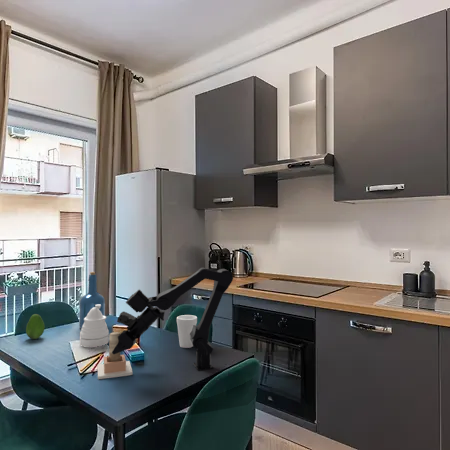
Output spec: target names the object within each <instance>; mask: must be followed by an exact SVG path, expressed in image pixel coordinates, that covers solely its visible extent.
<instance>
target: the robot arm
mask: <svg viewBox="0 0 450 450" xmlns="http://www.w3.org/2000/svg"><path fill="white" fill-rule="evenodd" d="M204 280H210V281H213V289H212V291H211V293H210V296H209V299H208V301H207V304H206V306H205V308H204V312H203V314H202V317H201V319H200V321H199V323H198V324H196V326H195V325H193V329H192V331H191V333H190V340H191V342H192V344H193V348H194V349H195V350H196V351H195V354H196V356H195V358H196V359H195V362H193V365H194V367H195V369H196V370H197V371H203V370H211V369H214V368H215V367H214V365H213V364H212V353H213V350H214V348H213V347H212V346H213V345H211V343H210V342H209V337H210V328H211V325H212V322H213V320H214V318H215V315H216V312H217V310H218V308H219V305H220V303H221V300H222V298H223V295H224V294H225V292H226V291H227V290H228V289H229V287H230V285H231V284H232V282H233V280H234V275H233V273H232V272H230V271H229V270H227V269H225V268H220V269H218V270H217V269H211V268H205V267H200V268H199V269H198V270H197V271H196V272H194V273H192V274H191V275H189V276H188V277H187V278H186V279H183V280H182V281H181V282H180V283H178V284H176V286H173V287H171V288H169V289H166V290H164V291H162V292H159V293H158V294H157V295H155V296H151V297H148V296H147V295H146V294H145V293H144V292H143V291H142V290H141V289H140V288H139V289H137V291H135V292H134V293H133V294H131V295H130V296H129V297H128V299H126V301H125V303H126V305H128V306H129V307H130V308H131V310H134V311H135V312H136V313H141V314H140V315H137V316H134V315H133V314H131V313H130V312H129V313H128V312H126V311H121V312H120V314H119V316H118V317H117V320H116V321H117V323H118V324H122V325H124V326H126V330H122V332H120V335H119V336H118V341H119V342H118V344H117V345H116V347H115V348H114V350H113V351H112V353H113V354H117V353H119V352H120V353H121V352H124V351H127V350H130V349H131V348H133V347H134V346H135V344H136V343H137V340H138V339H139V338H141V337H142V335H143V334H144V333H146V331H147V330H149V329H150V327H151V326H152V325H153V324H154V323H155V322H156V321H157V320H158V319H159V320H161V321H162V322H163V321H165V313H166V312H165V311H167V310H170V309H171V307H173V305H174V304H175V303H176V302H177V300H178V299H179V298H180V297H181V296H183V295H184V294H185V293H187V292H188V291H190V290H191V289H192V288H194V287H195V286H196V285H198V284H199V283H201V282H202V281H204Z"/></svg>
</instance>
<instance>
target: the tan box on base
mask: <svg viewBox="0 0 450 450" xmlns="http://www.w3.org/2000/svg"><path fill="white" fill-rule="evenodd" d="M127 376H133V368H132V366H131V362H130V360H126V357H125V354H120V361H116V362H109V355H108V356H107V355H106V356H103V363H99V364H97V380H105V379H110V378H118V377H127Z"/></svg>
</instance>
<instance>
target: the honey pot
mask: <svg viewBox="0 0 450 450" xmlns="http://www.w3.org/2000/svg"><path fill="white" fill-rule="evenodd" d="M100 307H101V305H100V304H97V305H95V307H93V308H92V309H91V310H90V311H89V313H88V314H87V316H86V317H85V318H84V324H83V326H82V329H81V330H80V332H79V346H80V345H82V346H89V347H88V348H98V347H97V346H99V347H102V345H103V346H105V344H106V345H107V344H108V343H109V334H110V331H109V329H108V326H107V323H106V320H107V316H106V315H105V316H103V315H102V313H101V311H100V310H99V309H100ZM82 346H81V347H82Z"/></svg>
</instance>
